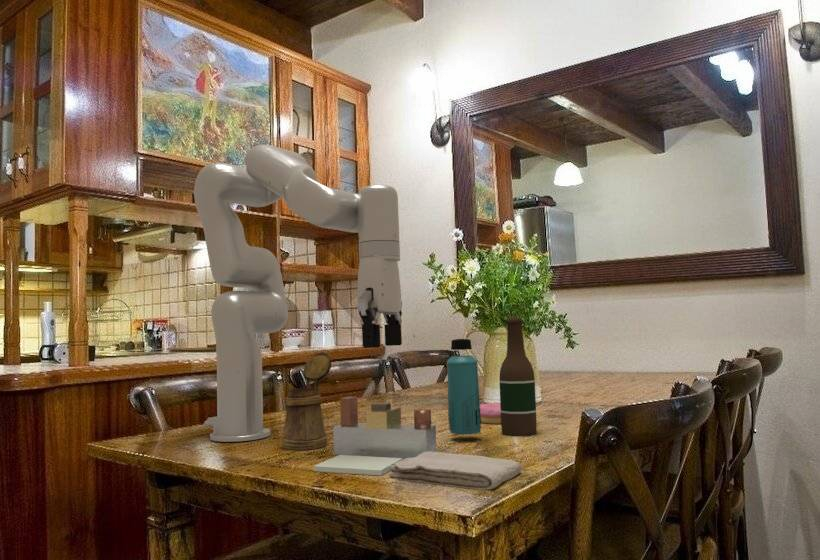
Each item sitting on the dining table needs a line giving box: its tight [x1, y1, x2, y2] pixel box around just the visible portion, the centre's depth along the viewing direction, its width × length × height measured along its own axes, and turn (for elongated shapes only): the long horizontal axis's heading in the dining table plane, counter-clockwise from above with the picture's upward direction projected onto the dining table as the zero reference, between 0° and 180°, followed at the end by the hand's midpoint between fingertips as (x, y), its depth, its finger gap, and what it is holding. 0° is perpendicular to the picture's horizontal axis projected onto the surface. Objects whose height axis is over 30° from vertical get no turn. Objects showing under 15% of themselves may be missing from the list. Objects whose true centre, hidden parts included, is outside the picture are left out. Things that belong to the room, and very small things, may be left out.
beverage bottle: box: [446, 338, 482, 435], centre depth 127 cm, size 6×7×20 cm
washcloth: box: [388, 451, 522, 491], centre depth 96 cm, size 12×18×3 cm, turn 59°
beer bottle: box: [499, 316, 538, 437], centre depth 132 cm, size 8×8×24 cm
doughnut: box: [480, 401, 501, 425], centre depth 148 cm, size 11×11×4 cm
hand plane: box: [332, 396, 437, 459], centre depth 114 cm, size 18×5×10 cm, turn 68°
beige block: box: [365, 402, 402, 429], centre depth 114 cm, size 4×6×4 cm, turn 158°
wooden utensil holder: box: [281, 351, 333, 451], centre depth 127 cm, size 9×14×18 cm, turn 162°
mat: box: [312, 455, 404, 476], centre depth 104 cm, size 12×9×1 cm
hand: (383, 346), depth 115 cm, fingers open, 9 cm apart
